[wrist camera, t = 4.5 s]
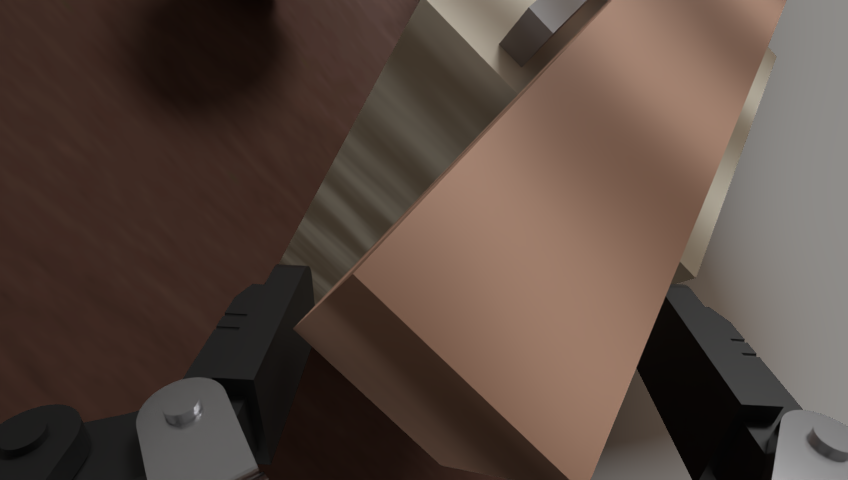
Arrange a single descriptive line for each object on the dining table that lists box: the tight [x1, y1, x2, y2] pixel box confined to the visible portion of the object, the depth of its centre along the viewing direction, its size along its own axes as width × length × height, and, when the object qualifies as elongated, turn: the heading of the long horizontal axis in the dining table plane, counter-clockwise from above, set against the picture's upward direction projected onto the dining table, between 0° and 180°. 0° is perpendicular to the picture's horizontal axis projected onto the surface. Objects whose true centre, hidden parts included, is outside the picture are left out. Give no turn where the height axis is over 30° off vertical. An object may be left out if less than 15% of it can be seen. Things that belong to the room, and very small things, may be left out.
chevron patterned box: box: [279, 0, 776, 305], centre depth 30 cm, size 16×12×32 cm
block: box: [293, 0, 786, 480], centre depth 14 cm, size 24×4×4 cm, turn 142°
